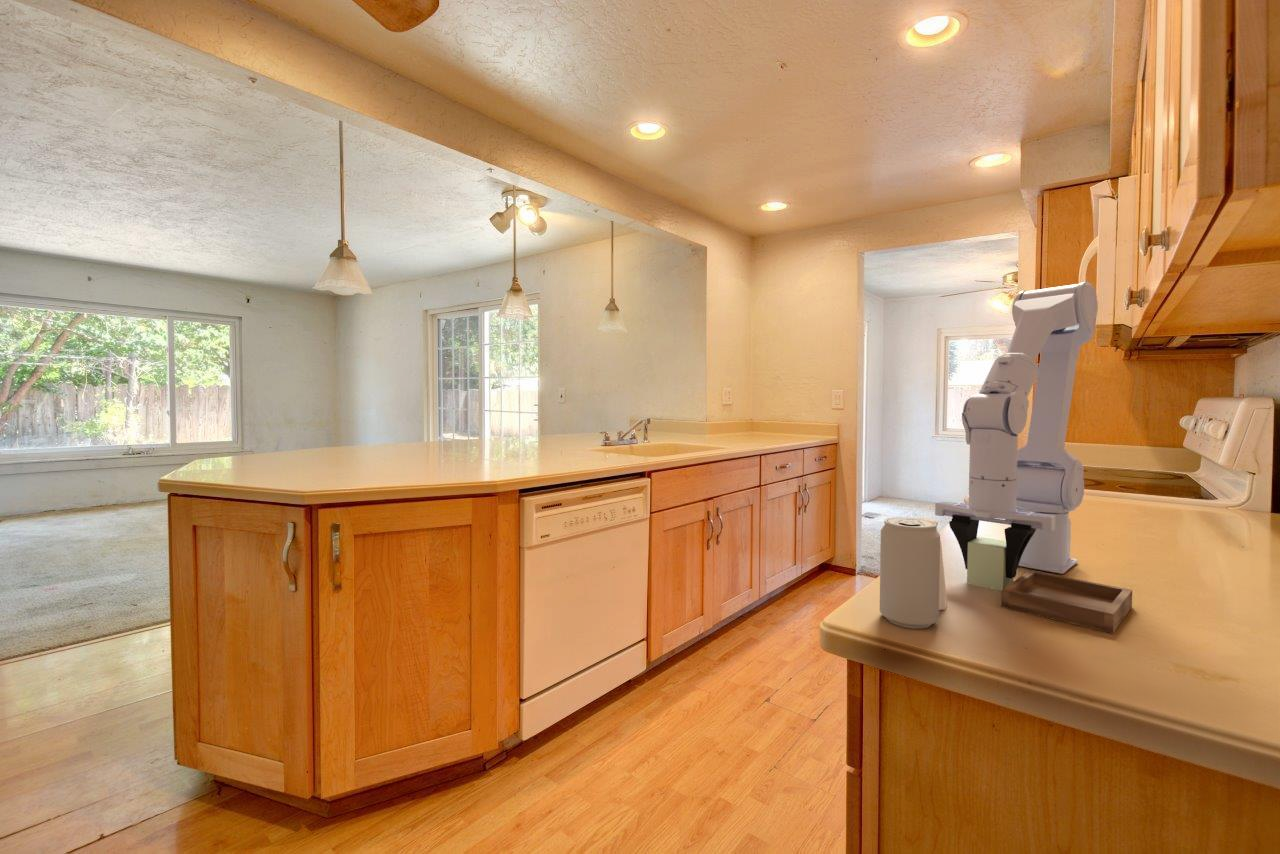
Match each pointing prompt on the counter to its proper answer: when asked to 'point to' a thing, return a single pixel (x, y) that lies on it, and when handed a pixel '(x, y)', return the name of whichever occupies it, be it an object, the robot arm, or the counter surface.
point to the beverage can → (909, 572)
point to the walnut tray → (1068, 600)
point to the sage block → (987, 563)
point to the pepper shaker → (940, 576)
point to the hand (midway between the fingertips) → (990, 572)
